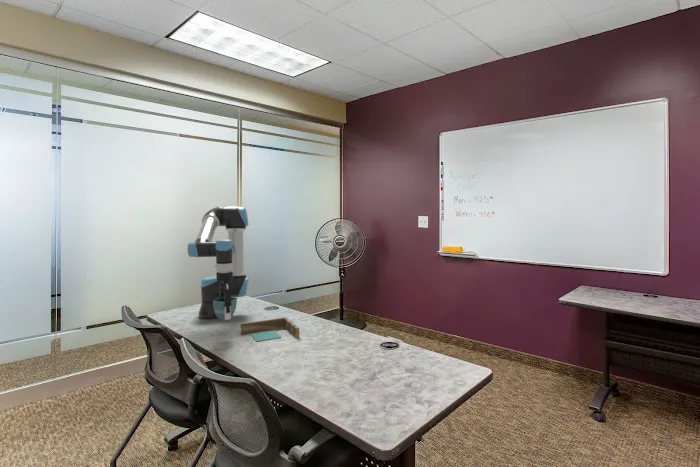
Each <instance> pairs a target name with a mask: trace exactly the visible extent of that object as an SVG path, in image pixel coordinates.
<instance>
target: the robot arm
mask: <svg viewBox="0 0 700 467" xmlns="http://www.w3.org/2000/svg"><path fill="white" fill-rule="evenodd" d="M201 223H202V224H201V226H200V229H199V231H198V234H197V236H196V239H195V241H192V242H188V244H187V255H188V256H189V257H190V258H209V257H210V258H211V257H214V258H215V264H216V265H214V268H215V269H216V273H215V274H216V275H211V276H207V277H204V278H202V280H201V281H200V284H201V286H200V288H201V289H200V291H201V293H200V294H201V304H200V307H199V310H198V318H200V319H201V320H202V319H203V320H205V319H206V320H213V319H219V318H218V317H217V316H216V314H215V312H214V307H213V301H214V300H216V299H218V298H220V297H224V301H225V305H224V310H225V319H224V321H226V320H227V321H228V320H232V316H231V305H232V304H231V297H235V298H243V297H246V296H247V294H248V288H249V283H250V282H249V280H250V278H249V277H248V276H247V273H245V272H244V232H245V230H246V229H247V227H248V226H249V218H248V212H247V209H246V207H243V206H216V207H214V208H211V209H210V210H209V211H207V212H206V213H204V215H203V217H202V219H201ZM218 227H225V230H226V231H227V233H228V237H227V238H228V239H227V238H226V239H224V238H223V239H217V240H216V241H213V238H214V235H215V232H216V229H217V228H218Z"/></svg>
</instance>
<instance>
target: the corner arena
mask: <svg viewBox="0 0 700 467" xmlns="http://www.w3.org/2000/svg"><path fill="white" fill-rule="evenodd" d="M278 329H285V330H286V331H287V332H288V333H290V334H291V335H292V336H293V337H294V338H295V339H300V326H298V325H296V324H295V323H294V322H293V321H292V320H290V319H289V318H288V317H286V316H285V317H278V318H271V319H263V320H258V321H249V322H244V323H243V322H242V323H240V334H241V335H244V334H251V333H258V332H264V331H271V330H278Z"/></svg>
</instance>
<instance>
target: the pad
mask: <svg viewBox="0 0 700 467" xmlns="http://www.w3.org/2000/svg"><path fill="white" fill-rule="evenodd" d="M250 336H251V337H252V338H253V339H254V340H255V342H256V343H258V342H263V341H271V340H276V339H281V338H282V336H281V335H280V334H279V333H278V332H276V330H275V329H272V330H266V331H259V332H253V333H250Z"/></svg>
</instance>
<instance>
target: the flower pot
mask: <svg viewBox="0 0 700 467" xmlns="http://www.w3.org/2000/svg"><path fill="white" fill-rule="evenodd" d="M237 302H238V297H231V304H232V305H231V317H233V315H234V314H235V312H236V308H237ZM224 305H225V301H224V297H220V298H218V299H216V300H214V301H213V307H214V312H215V314H216V316H217V317H218V318H217V319H223V320H225V310H224Z"/></svg>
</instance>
